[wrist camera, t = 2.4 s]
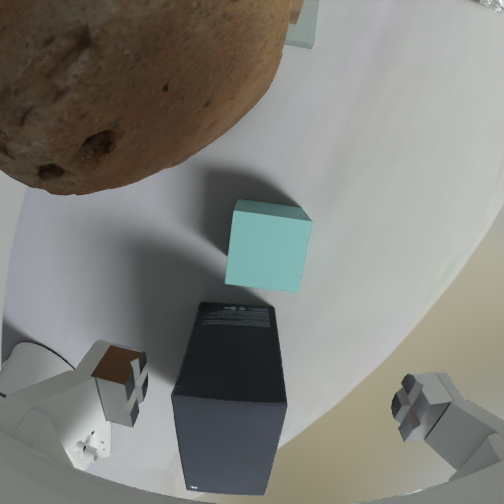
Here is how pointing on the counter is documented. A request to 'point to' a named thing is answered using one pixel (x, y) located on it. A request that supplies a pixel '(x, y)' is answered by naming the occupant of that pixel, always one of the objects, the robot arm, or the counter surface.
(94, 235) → the counter surface
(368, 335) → the counter surface
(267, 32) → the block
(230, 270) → the teal cube
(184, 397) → the small box
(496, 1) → the white coral
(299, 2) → the walnut base block
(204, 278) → the counter surface
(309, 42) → the square tile
